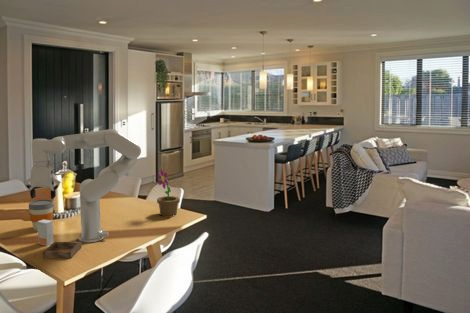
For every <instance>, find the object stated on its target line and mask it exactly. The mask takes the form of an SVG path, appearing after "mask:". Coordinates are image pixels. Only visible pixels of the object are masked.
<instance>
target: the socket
mask: <svg viewBox="0 0 470 313" xmlns="http://www.w3.org/2000/svg"><path fill="white" fill-rule="evenodd" d="M53 242H54V243H53V244H51V245H48V246H47V247H46V249H44V250H43V251H42V258H43V259H72V258H73V257H74V256H75V255H76V254H77V253H78V252H79V251H80V250H81V249H82V242H81V241H53ZM57 249H67V250H57ZM68 249H70V250H68Z"/></svg>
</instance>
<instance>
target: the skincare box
mask: <svg viewBox="0 0 470 313" xmlns="http://www.w3.org/2000/svg"><path fill="white" fill-rule="evenodd" d="M37 226H38V231H37V238H38V239H37V241H38V242H37V243H38V245H40V246H41V245H42V246H46V247H49V246H50V245H52V244H53V243H54V242H55V241H54V226H53V220H52V221H50V220H44V219H43V220H40V221H38V222H37Z"/></svg>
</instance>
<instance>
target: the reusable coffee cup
mask: <svg viewBox="0 0 470 313" xmlns="http://www.w3.org/2000/svg"><path fill="white" fill-rule="evenodd" d="M28 209H29V213H28V214H29V219H30V222H31V223H32V228H33V230H34V231H37V232H38V226H37V222H38V221H40V220H43V219H44V220H50V221H52V222H53V219H54V201H53V200H52V199H35V200H32V201H30V202H29V203H28Z"/></svg>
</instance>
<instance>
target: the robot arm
mask: <svg viewBox="0 0 470 313" xmlns="http://www.w3.org/2000/svg"><path fill="white" fill-rule="evenodd" d="M106 147H110V148H111V149H113V150H114V151H115V152H117V153H119V154H120V157H119V158H118V159H117V160H115V161H114V162H113V163H111V164H109V165H108V166H106V167H105V168H103V169H101V170H100V172H99V173H98V176H96V177H95V178H94V179H91V178H87V179H85V180H83V181H82V182H81V184H80V185H79V201H80V206H79V207H80V225H81V235H79V236H78V242H81V243H86V244H87V243H95V242H98V241H101V240H102V241H103V239H104V238H105V237H109V235H110V234H109V231H107V230H105V231H104V230H103V228H101V227H102V226H101V200H100V199H101V198H102V197H104V196H105V195H107V194H108V193H109V192H111V191H112V190H114V189H115V188H116V187H117V185H119V182H120V179H121V178H122V177H123V176H125V175H126V174H128V173H129V172H130V171H131V170H132V169H133V168H135V165H136V163H137V160H138V158H139V157H140V155H141V154H142V149H141V146H140V145H139V144H138V143H137V142H135V141H133V140H131V139H129V138H128V137H126V136H125V135H123V133H121V132H119V131H118V130H116V129H113V128H112V129H111V128H110V129H104V130H103V129H102V130H96V131H89V132H82V133H76V134H75V133H74V134H67V135H61V136H56V137H53V138H52V139H47V138H34V139H32V140H31V152H32V153H31V154H32V155H31V156H32V157H31V158H32V166H31V168H30V169H31V170H30V178H29V179H26V180H25V181H23V182H24V184H25V187H26V188H27V189H28V190H29V192H30V193H29V195H30V198H31V199H34V198H36V197H37V196H36V188H49V189H50V198H51V199H50V200H52V199H53V200H54V199H55V198H56V196H57V192H56V190H57V189H58V188H59V187H60V185H61V181H60V180H58V179H57V178H55V173H54V169H53V166H52V165H53V164H54V162H53V161H51V158H50V154H54V155H60V154H63V153H64V152H65V151H68V150H75V149H81V150H82V149H83V150H92V149H99V148H106Z"/></svg>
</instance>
